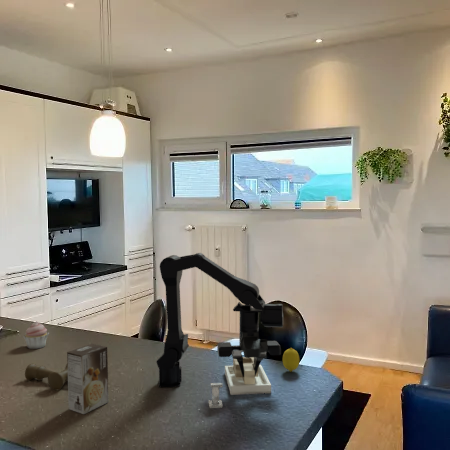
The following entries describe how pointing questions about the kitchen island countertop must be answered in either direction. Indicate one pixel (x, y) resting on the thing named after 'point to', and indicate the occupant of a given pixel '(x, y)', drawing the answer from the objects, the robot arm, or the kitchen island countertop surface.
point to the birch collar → (245, 370)
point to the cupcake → (36, 336)
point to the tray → (240, 387)
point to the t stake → (215, 396)
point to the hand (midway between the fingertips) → (248, 376)
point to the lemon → (290, 359)
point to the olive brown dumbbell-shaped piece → (47, 375)
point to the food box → (87, 378)
